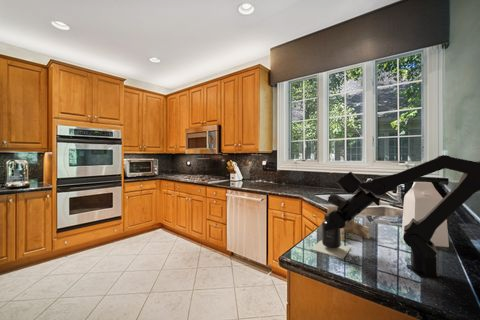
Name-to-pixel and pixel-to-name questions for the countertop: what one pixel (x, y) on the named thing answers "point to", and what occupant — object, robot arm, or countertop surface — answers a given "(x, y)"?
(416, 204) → the milk
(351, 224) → the open box
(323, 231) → the supplement bottle
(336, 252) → the mat
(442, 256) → the countertop surface
